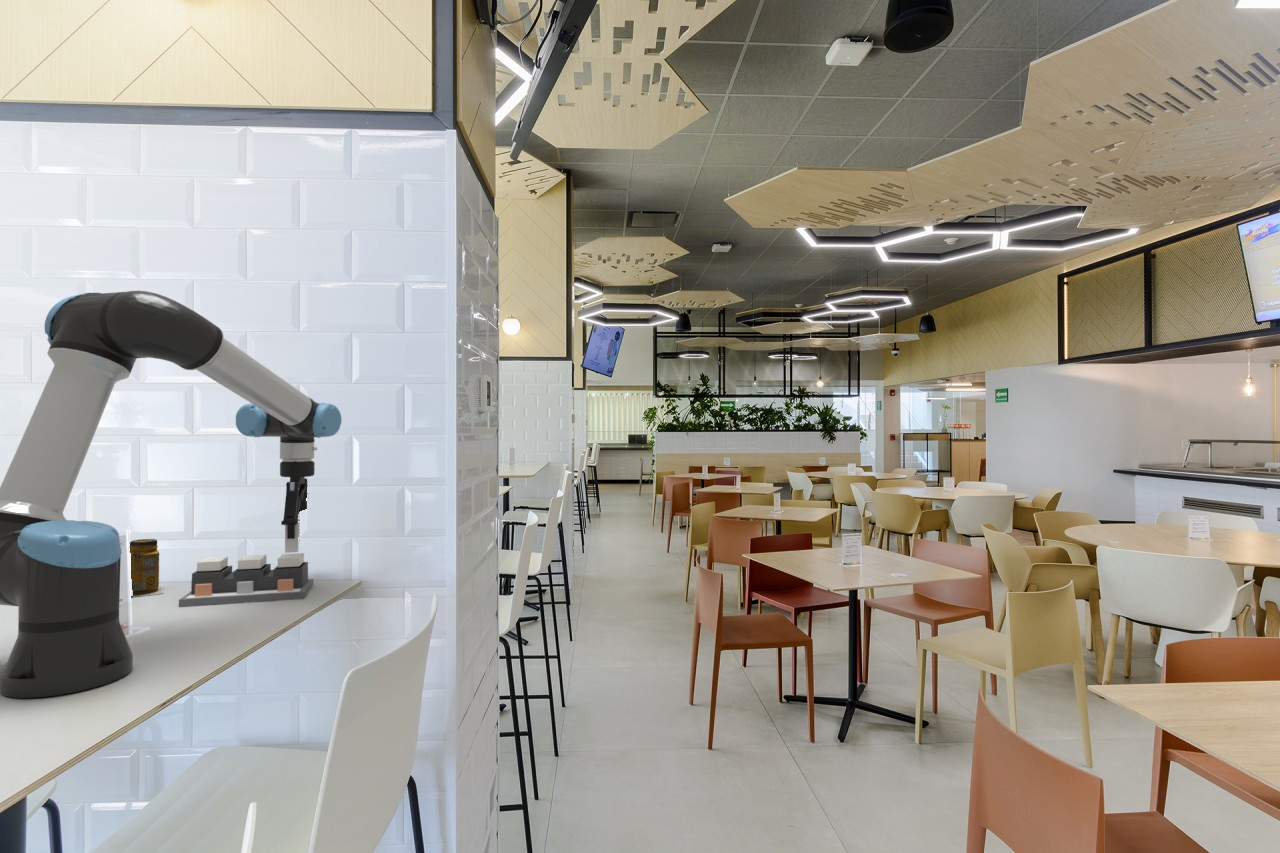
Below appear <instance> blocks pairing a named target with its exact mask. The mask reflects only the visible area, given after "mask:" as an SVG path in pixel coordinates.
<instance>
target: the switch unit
mask: <svg viewBox="0 0 1280 853" xmlns="http://www.w3.org/2000/svg"><path fill="white" fill-rule="evenodd" d="M190 582H191V587H190V588H191V589H190V590H191V591H189V592H188V593H187V594H185V595H184V596H181V598H179V599H178V608H179V607H180V608H182V607H197V606H198V607H199V606H215V605H227V604H228V605H229V603H231V604H243V602H247V603H257V602H258V603H260V602H274V601H275V602H277V601H290V600H303V599H304V598H305V597H306V596H307V595H308V593H309V592H310V590H311V589H312V588H313V586H314V578H309V562H308V561H304V562H303V563H302V564H301V565H300V566H296V567H278V565H276V566H275V568H273V569H272V568H271V563H266V564H265V565H264V566H263V567H261V568H257V569H238V568H236V569H234V571H233V565H227V566H226V567H224V568H223V569H221V570H217V571H197V570H196V571H194V572H192V573H191V581H190Z"/></svg>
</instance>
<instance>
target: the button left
mask: <svg viewBox="0 0 1280 853" xmlns="http://www.w3.org/2000/svg"><path fill="white" fill-rule="evenodd" d="M228 559H229V557H228V556H213V557H212V556H210V557H208V556H207V557H204V558H202V559H201V560H199V561H197V562H196V571H217V570H221V569H223V568H224V567H226V566H229V564H228V563H229V562H228Z"/></svg>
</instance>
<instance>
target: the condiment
mask: <svg viewBox="0 0 1280 853" xmlns="http://www.w3.org/2000/svg"><path fill="white" fill-rule="evenodd" d="M129 544H130V546H129V548H130V551H129V552H130V553H131V579H132V590H133V597H132V598H135V597H137V598H138V597H145V596H146V597H149V596H152V595H159V594H164V592H163V590H162V587H161V586H160V585H159V584H160V552H159V550H158V539H155V538H143V539H135V540H131V541H130V542H129Z"/></svg>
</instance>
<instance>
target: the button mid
mask: <svg viewBox="0 0 1280 853" xmlns="http://www.w3.org/2000/svg"><path fill="white" fill-rule="evenodd" d="M265 564H267V554H255V555H253V554H252V555H244V556H242V557H241V558H239V559H238V560H237V569H257V568H261V567H263V566H264V565H265Z"/></svg>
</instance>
